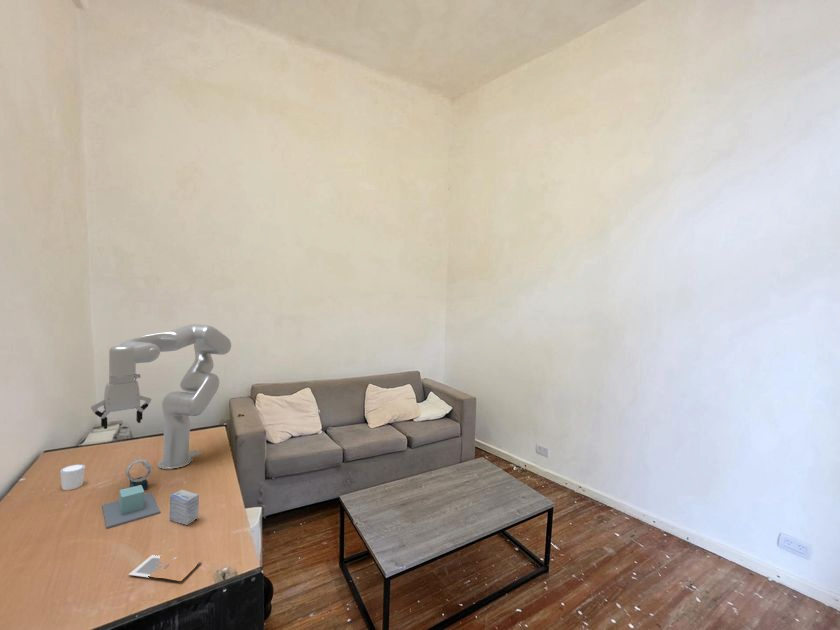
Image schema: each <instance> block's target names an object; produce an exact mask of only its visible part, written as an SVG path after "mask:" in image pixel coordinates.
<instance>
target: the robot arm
mask: <svg viewBox="0 0 840 630" xmlns="http://www.w3.org/2000/svg"><path fill="white" fill-rule="evenodd" d="M191 345H193V350H194V357H195V358H194V361H193V363H192V365H191V366H190V368H189V369H188V370H187V371H186V373H185V374H184V375H183V377H182V379H181V381H180V384H179V386H180V389H181V390H183V391H178V390H177V391H172V392H171V391H170V392H169V393H167V394H166V395H165V396H164V398H163V400H162V402H161V403H162V404H161V405H162V406H161V408H162V413H163V418H164V419H163V421H164V422H163V441H162V442H163V447H162V458H161V459H160V460H159V462H158V464H157V466H158V468H159V469H161V468H162V469H161V470H173V469H172V468H177V469H179V468H178V467H182V466H184V465H186V464H188V463H190V462H191V461H192V462H193V458H194V457H197V456H201V455H202V452H201V450H196V449H195V450H190V434H191V419H190V417H198V416H200V415H202V414H204V412H205V411H206V409H207V408H208V406H209V405H210V403H211V401H212V400H213V398H214V397H215V395H216V393H217V391H218V389H219V387H220V378H219V376H218V375H217V374H215V373H212V372H213V368H214V365H215V364H214V360H213V357H212V355H219V356H220V355H222V356H223V355H226V354H227V353H229V352H230V351H231V349H232V342H231V340H230V338H229V337H227V336H226V335H225V334H223V333H222V332H221V331H220V330H218V329H217V328H215V327H214V326H212V325H207V324H197V323H195V324H188V325H184V326H182V327H179V328H176V329H172V330H169V331H164V332H158V333H157V332H156V333H152V334H146V335H141V336H138V337H134V338H131V339H127V340H125V341H123V342H122V343H120V344H118V345H114V346H111V347H110V348H109V350H108V351H109V352H108V353H109V354H108V357H109V359H108V362H109V363H108V364H109V365H108V366H109V368H108V382H107V383H106V384H105V387H104V395H103V400H101V401H99V402H97V403H95V404H93V405H92V406H91V407H90V409H91V411H92V412H93V413H94V414H95V415H96V416H97V417H99V418H101V419H100V423H101V424H100V427H102V428H103V429H104V430H106V429H108V417H107V416H108V415H110V414H111V413H114V412H121V411H128V410H135V409H136V410H137V411H136V422H137V424H141V421H142V420H143V413H144V411H145V410H146V409H147V408H148V407H149V405H150V403H151V401H152V398H150V397H147V396H143V395H141V393H140V386H139V382H138V380H137V379H140V378H141V373H140V374H139V373H137V372H136V365H137V364H144V363H146V364H147V363H152V362H154V361H156V360H157V359H158V358H159V357H160V355H161V352H163V353H165V352H167V353H168V352H175V351H179V350H182V349H183V348H186V347H188V346H191ZM141 401H143V402H144V401H145V402H144V403H143V404H142V405H141ZM100 407H103V411H100V410H99V408H100ZM192 462H191V463H192ZM191 463H190V464H191ZM182 468H183V467H182Z"/></svg>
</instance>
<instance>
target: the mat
mask: <svg viewBox="0 0 840 630" xmlns="http://www.w3.org/2000/svg"><path fill="white" fill-rule="evenodd" d="M101 507H102V512H103V518H104V522H105V528H106V530H107V529H111V528H113V527H117V526H120V525H124V524H128V523H131V522H135V521H138V520H142V519H144V518H149V517H152V516H155V514H156V515H158V513H159V514H161V510H160V508H159V505H158V502H157V500H156V499H155V497H154V493H153V492H148V493H144V509H141V510H138V511H134V512H131V513H127V514H123V515H121V513H120V509H119V500H116V501H115V500H114V501H113V502H109V503H104V504H102V505H101Z"/></svg>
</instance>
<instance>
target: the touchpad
mask: <svg viewBox="0 0 840 630" xmlns="http://www.w3.org/2000/svg"><path fill="white" fill-rule="evenodd" d="M155 555H156V554H151V555H150V556H149V557H148V558H146V559H145V560H143V562H142V563H140V564H139V565H138V566H137V567H136V568H134V569H133V570H132V571H130V573H128V574H127V575H128V576H136V577H142V578H149V577H148V576H150V574H152V572H156V570H159V569H158V565H159V563H160V564H162V562H160V561H159V559H160V556H161V555H158V554H157V555H158V556H157V555H156V556H155ZM176 558H177V557H174V559H176ZM174 559H173V560H174ZM156 562H158V563H156ZM168 566H169V563H166V565H165V566H164V569H166V568H167V567H168ZM185 566H186V565H185ZM155 567H157V569H156V568H155ZM161 567H162V566H159V568H161ZM153 569H154V570H155V571H154V570H153ZM160 571H161V570H160ZM157 572H158V571H157ZM157 572H156V573H157Z"/></svg>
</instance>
